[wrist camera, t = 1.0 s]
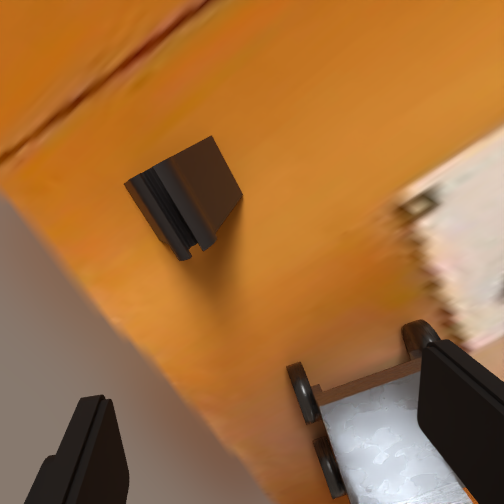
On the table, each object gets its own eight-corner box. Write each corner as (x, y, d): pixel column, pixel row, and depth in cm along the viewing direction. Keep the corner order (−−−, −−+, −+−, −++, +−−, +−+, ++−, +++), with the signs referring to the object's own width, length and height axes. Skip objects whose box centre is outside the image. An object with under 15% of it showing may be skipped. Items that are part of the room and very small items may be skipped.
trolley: (412, 309, 40) (599, 467, 21) (435, 424, 45) (601, 634, 26) (282, 355, 40) (351, 557, 21) (321, 465, 45) (404, 706, 26)
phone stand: (159, 238, 35) (135, 287, 23) (124, 182, 33) (78, 205, 21) (242, 194, 34) (259, 222, 23) (212, 135, 32) (213, 132, 21)
